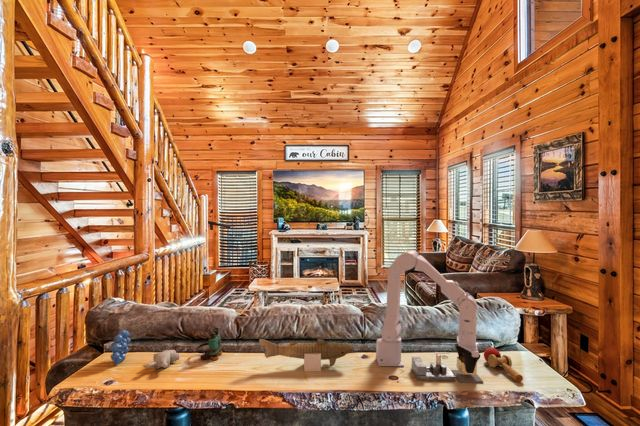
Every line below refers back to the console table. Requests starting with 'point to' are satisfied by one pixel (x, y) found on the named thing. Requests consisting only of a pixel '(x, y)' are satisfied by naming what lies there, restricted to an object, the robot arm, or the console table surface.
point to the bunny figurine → (163, 359)
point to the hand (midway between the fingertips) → (466, 368)
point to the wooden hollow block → (462, 367)
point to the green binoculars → (212, 346)
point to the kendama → (501, 362)
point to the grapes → (120, 346)
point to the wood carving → (308, 352)
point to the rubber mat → (466, 377)
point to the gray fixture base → (432, 370)
